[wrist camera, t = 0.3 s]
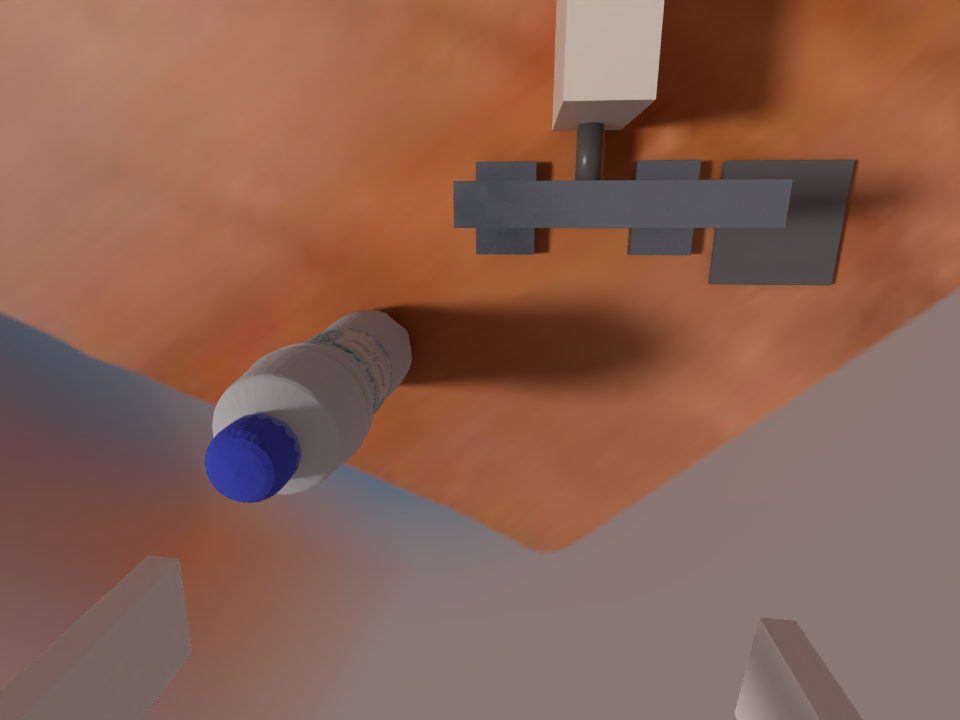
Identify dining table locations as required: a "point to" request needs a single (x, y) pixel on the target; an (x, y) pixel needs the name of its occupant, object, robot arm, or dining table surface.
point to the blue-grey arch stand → (613, 205)
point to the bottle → (305, 408)
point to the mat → (787, 226)
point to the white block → (603, 70)
